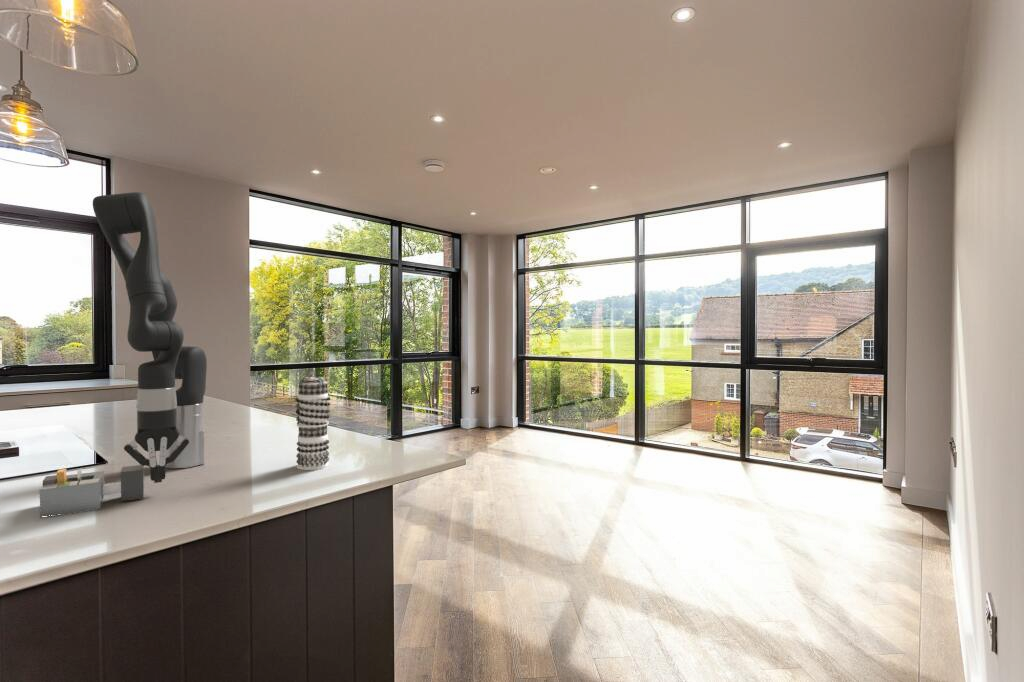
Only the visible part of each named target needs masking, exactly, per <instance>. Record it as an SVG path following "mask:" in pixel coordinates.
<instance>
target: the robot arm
mask: <svg viewBox="0 0 1024 682" xmlns="http://www.w3.org/2000/svg"><path fill="white" fill-rule="evenodd" d="M92 209H93V212H94V216H95V219H96V220H97V223H98V225H99V227H100V229H101V231H102V233H103V235H104V238H105V239H106V241H107V242H108V245H109V247H110V248H111V251H112V254H113V255H114V257H115V260H116V262H117V263H118V266H119V269H120V271H121V273H122V275H123V279H124V281H125V288H126V292H127V297H128V301H129V310H130V311H129V323H128V328H127V329H128V330H127V342H128V344H129V346H130V347H131V348H132V349H133V350H135V351H137V352H141V353H145V352H147V353H149V352H151V354H152V358H153V360H151V361H146V362H144V363H141V364H139V366H138V368H137V389H138V390H137V396H136V404H135V405H136V417H137V418H136V420H137V421H136V422H137V423H136V426H137V427H136V428H137V429H136V430H137V432H136V434H135V435H134V439H133V440H131V441H130V442H129V443H125V445H124V446H123V449H124V450H123V451H125V452H126V453H127V454H128V455H129V456H130V457H132V458H133V459H134V460H135V461H136V462H137V463H138V465H142V466H144V467H145V466H147V467H149V468H150V480H151V481H152V482H153V484H157V483H162V482H163V480H165V479H166V477H167V475H166V469H184V468H192V467H196V466H199V465H205V429H204V396H205V392H206V387H207V386H206V382H207V365H208V364H207V363H208V362H207V356H206V353H205V351H204V350H203V349H202V348H201V347H199V346H190V345H189V346H187V345H186V346H183V343H184V331H183V329H182V326H181V325H180V324H178V323H177V322H176V321H173V320H174V318H175V315H176V312H177V308H178V299H177V296H176V293H175V291H174V288H173V286H172V283H171V280H170V278H169V277H168V276H167V275H166V274H165V272H163V271H162V270H161V268H160V255H159V243H158V232H157V231H158V229H157V223H156V217H155V211H154V209H153V206H152V204H151V202H150V200H149V198H148V196H146V194H144V193H143V192H136V191H135V192H123V193H114V194H105V195H104V194H103V195H98V196H95V197H94V198H93V199H92ZM135 233H136V234H138V233H140V238H139V239H140V241H139V244H138V247H137V249H136V250H135V248H133V246H132V245H131V244H130V243H129V242H128V240H127V239H126V237H125V236H124V235H129V234H135ZM176 380H182V381H181V386H180V387H179V388H178V389H176ZM138 445H139V446H140V447H141V448H142V450H144V451H145V452H148V458H147V457H145V456H144V455H143V454H142V453H141V452H140V451H139V450H138V448H139V446H138ZM157 452H159V459H157ZM157 460H158V461H157Z"/></svg>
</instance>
